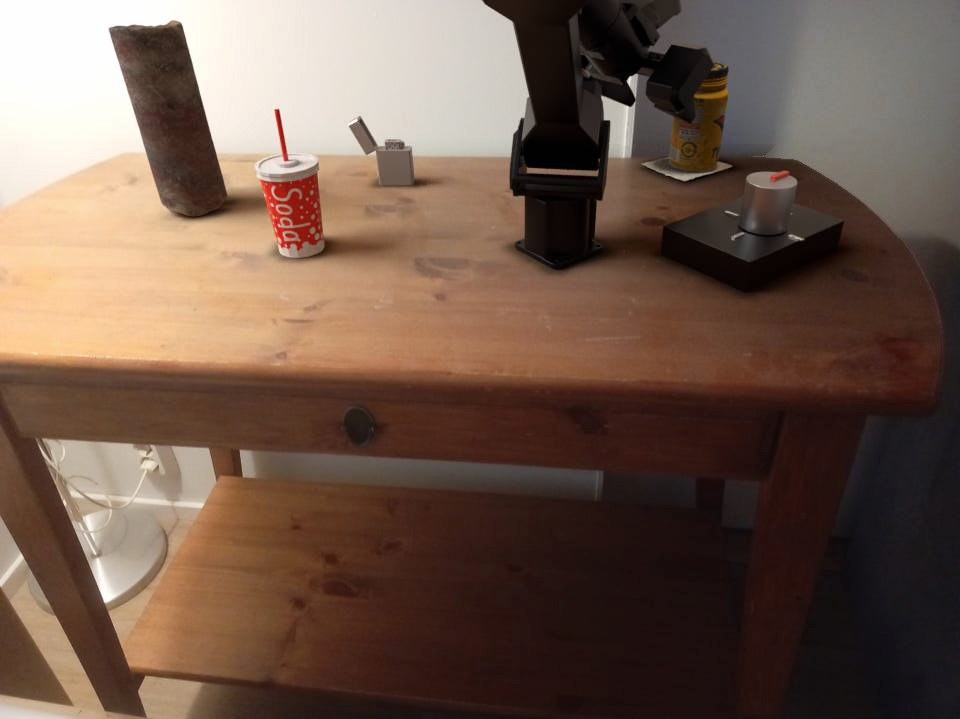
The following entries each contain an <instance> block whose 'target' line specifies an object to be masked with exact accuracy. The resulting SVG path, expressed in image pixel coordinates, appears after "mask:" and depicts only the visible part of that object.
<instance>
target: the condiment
mask: <svg viewBox="0 0 960 719" xmlns="http://www.w3.org/2000/svg"><path fill="white" fill-rule="evenodd" d="M728 76H729V66H728V65H726V64H725V63H722V62H718V61H714V67H713V68H712V70H711V71H710V73H709V74H708V76H707V77H706V79H705V80H704V81H703V83H702V84H701V86H700V87H699V89H698V90H697V92H696V93H695V95H694V96H695V109H696V117H695V119H694V120H693V122H692V123H691V124H689V123H686V122H684V121H682V120H679V119H677V118H675V117H673V116H672V124H671V134H670V142H669V149H668V150H669V151H668V156H667V157H661V158H659V159H655V160H652V161H646V162H643V163H641V165H642V166H645V167H646V168H649V169H650V170H654V171H655V172H658V173H660V174H663V175H665V176H669V177H671V178H674V179H676V180H680V181H683V182H687V181H689V180H694V179H695V178H699V177H702V176H707V175H711V174H714V173H717V172H721V171H725V170H727V169H729V168H732V167H733V165H731V164H729V163H727V162H726V163H724V162H722V161H719V157H720V152H721V146H722V140H723V132H724V127H725V121H726V120H725V119H726V112H727V106H728V102H729V91H728V88H727V84H728Z"/></svg>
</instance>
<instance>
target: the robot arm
mask: <svg viewBox="0 0 960 719" xmlns="http://www.w3.org/2000/svg"><path fill="white" fill-rule="evenodd" d="M481 2H482V3H483V4H484V5H485V6H486V7H487V8H490V9H491V10H493V11H495V12H496V13H498V14H499V15H501V16H503V17H504V18H506V19H507V20H509V21H510V22H511V23H512V26H513V30H514V35H515V39H516V45H517V48H518V52H519V57H520V62H521V65H522V70H523V75H524V79H525V83H526V84H525V85H526V88H527V94H528V97H526V103H525V111H524V117H521V118H520V119H519V123H518V126H517V130H515V132H513V134H512V143H511V153H510V160H509V161H510V162H509V190H511V191H512V196H513V197H517V198H518V197H524V238H522V239H519V240H516V241H515V242H514V248H515V249H517V250H518V251H521V252H523V253H524V254H526V255H528V256H529V257H531V258H533V259H535V260H537V261H539V262H541V263H542V264H545V265H547V266H548V267H550V268H552V269H558V268H561V267H564V266H567V265H569V264H572V263H575V262H578V261H581V260H582V259H585V258H588V257H591V256H593V255H596V254H599V253H601V252H604V251H603V250H604V245H603V244H601V243H599V242H597V241H595V240H594V239H595V237H596V222H597V207H598V206H597V204H598V202H602V201H603V199H604V195H605V190H606V186H607V178H608V177H607V175H608V164H609V153H610V140H611V120H610V119H605V110H604V101H603V100H602V97H603V98H606V99H608V100H611V101H613V102H616V103H619V104H621V105H624V106H626V107H628V108H632V107H633V106H634V105H635V103H636V100H637V99H636V96H635V93H634V92H633V90H632V88H631V86H630V84H629V82H628V80H629V78H630V77H633V76H635V75H639V76H644V77H647V78H648V79H647V80H646V83H645V84H646V85H645V97H646V98H647V99H648V100H649V101H650V102H651V103H652V104H653V108H655V109H657V110H659V111H661V112H663V113H665V114H667V115H669V116H671V117H672V118H673V117H675V118H677V119H679V120H682V121H684V122H686V123H689V124H691V123H692V122H693V120H694V119H695V117H696V109H695V96H694V95H695V93H696V92H697V90H698V89H699V87H700V86H701V84H702V83H703V81H704V80H705V79H706V77H707V76H708V74H709V73H710V71H711V70H712V68H713V67H714V62H715V61H714V58H713V56H712V55H711V53H710V51H709V50H708V48H707V46H701V45H695V44H690V43H685V42H677V43H671V45H669V47H668V49H667V50H666V52H665V53H660V52H656V51H651V50H650V48H651V47H654V46H656V44H657V42H658V41H659V40H660V38H661V35H660V33H659V31H658V29H660V28H661V27H663V26H664V25H665V24H666V23H667V22H669V21H670V20H671V19H672V18H673V17H674V16H675V17H677V16H678V15H679V14H680V13H682V11H683V7H682V2H681V0H481ZM528 169H539V170H560V171H561V170H564V171H565V170H566V171H583V172H584V171H587V172H598V173H597V175H584V174H583V175H582V174H561V173H560V174H559V173H538V172H537V173H536V172H534V173H533V172H528Z"/></svg>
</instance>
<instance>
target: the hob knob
mask: <svg viewBox="0 0 960 719" xmlns="http://www.w3.org/2000/svg"><path fill="white" fill-rule="evenodd" d="M797 187H798V180H797V179H796V178H795V177H794V176H791V175H790V171H788V170H782V171H779V172H778V171H777V172H776V171H757V172H753V173H750V174H748V175H747V176H746V179H745V183H744V189H743V195H742V196H743V200H742V206H741V212H740V218H739V226H740V227H741V228H742V229H744V230H746V231H748V232H751V233H755V234H760V235H777V234H781V233H784V232H785V231H786V230H787V229H788V225H789V220H790V216H791V211H792V206H793V203H794V201H795V198H796V197H795V196H796V193H797V192H796V191H797Z"/></svg>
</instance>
